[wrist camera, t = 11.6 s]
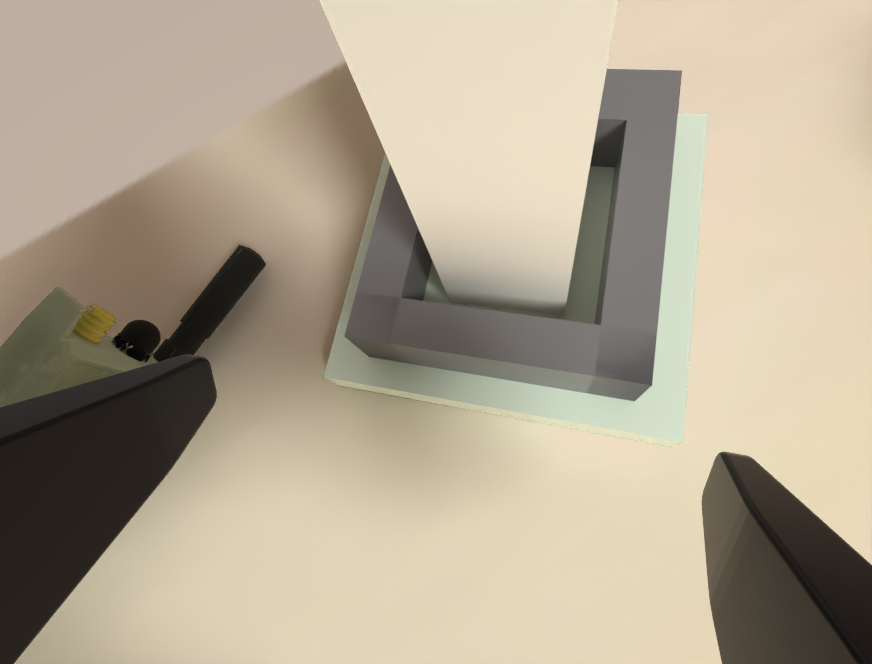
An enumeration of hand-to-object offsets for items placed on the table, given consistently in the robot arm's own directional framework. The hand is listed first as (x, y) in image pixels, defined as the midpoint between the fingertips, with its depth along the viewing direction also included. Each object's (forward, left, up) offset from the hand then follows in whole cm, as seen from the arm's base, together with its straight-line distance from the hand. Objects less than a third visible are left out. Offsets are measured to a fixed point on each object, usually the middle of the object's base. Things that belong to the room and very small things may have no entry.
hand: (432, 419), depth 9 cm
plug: (+5, -5, -8) cm, 11 cm away
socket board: (+5, -5, -9) cm, 12 cm away
